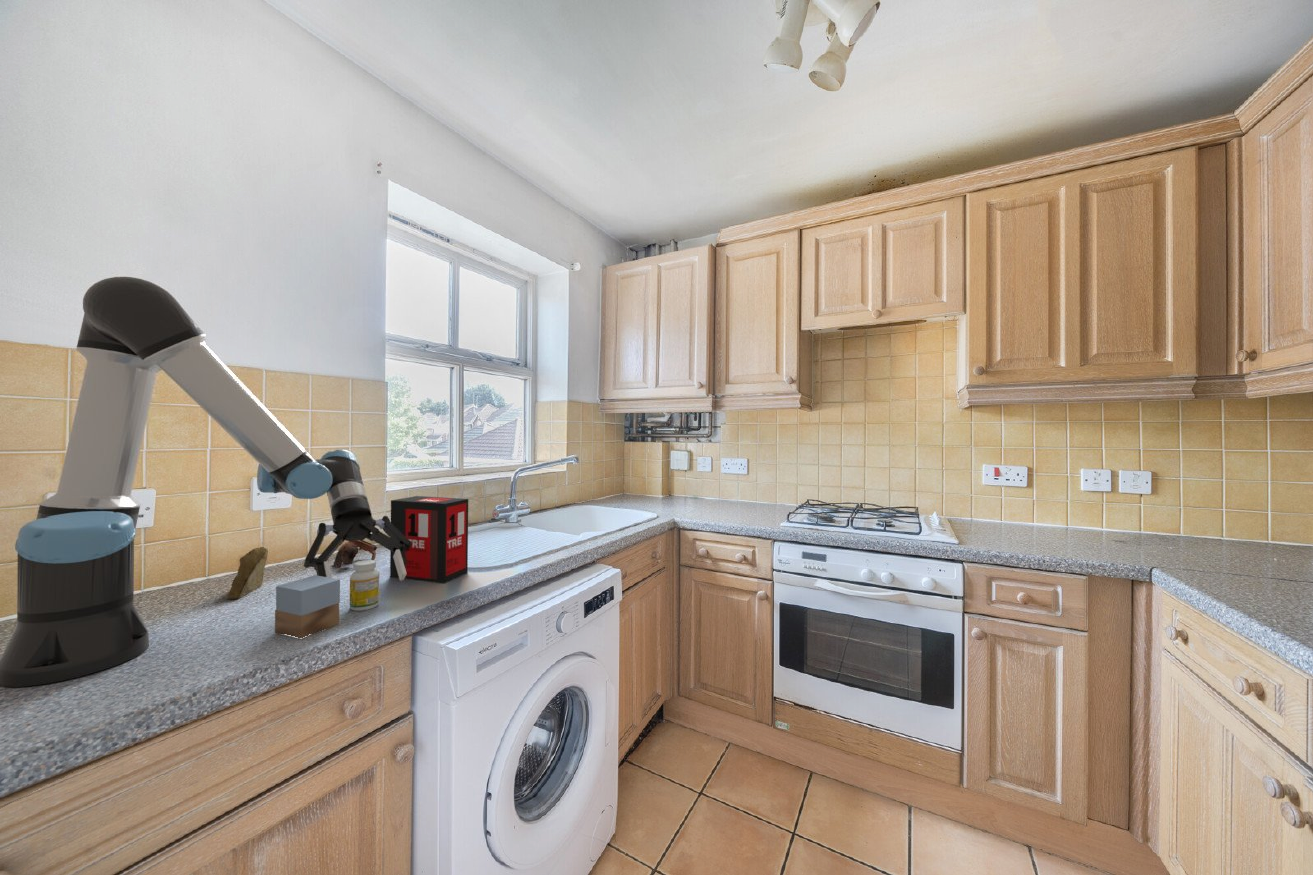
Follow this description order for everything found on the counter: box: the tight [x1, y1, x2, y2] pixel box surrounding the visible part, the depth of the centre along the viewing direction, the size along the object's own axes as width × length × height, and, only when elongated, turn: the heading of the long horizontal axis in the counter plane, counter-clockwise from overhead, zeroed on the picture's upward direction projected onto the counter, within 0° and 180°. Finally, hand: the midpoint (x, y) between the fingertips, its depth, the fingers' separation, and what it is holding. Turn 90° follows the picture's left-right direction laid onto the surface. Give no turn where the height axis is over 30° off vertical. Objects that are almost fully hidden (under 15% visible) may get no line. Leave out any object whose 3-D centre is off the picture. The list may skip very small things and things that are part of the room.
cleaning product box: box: [389, 495, 469, 584], centre depth 121 cm, size 16×9×20 cm, turn 76°
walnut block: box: [274, 603, 340, 638], centre depth 87 cm, size 7×7×4 cm
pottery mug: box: [333, 540, 378, 568], centre depth 130 cm, size 12×10×8 cm
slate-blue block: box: [275, 574, 341, 616], centre depth 87 cm, size 7×7×4 cm
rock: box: [226, 546, 269, 600], centre depth 106 cm, size 11×9×10 cm
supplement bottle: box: [349, 559, 380, 612], centre depth 98 cm, size 5×5×10 cm
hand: (368, 584), depth 98 cm, fingers open, 13 cm apart
